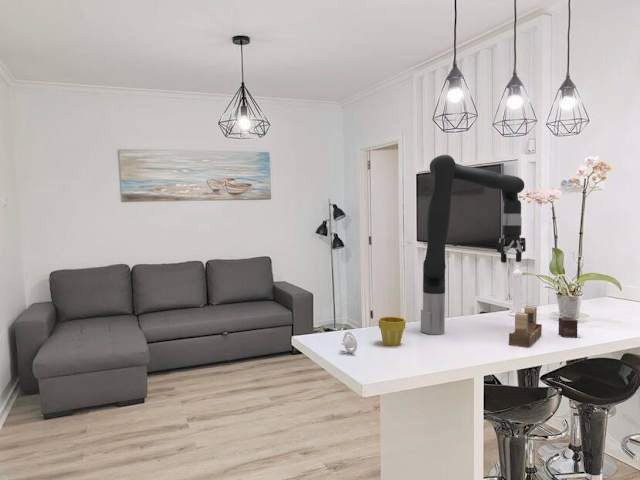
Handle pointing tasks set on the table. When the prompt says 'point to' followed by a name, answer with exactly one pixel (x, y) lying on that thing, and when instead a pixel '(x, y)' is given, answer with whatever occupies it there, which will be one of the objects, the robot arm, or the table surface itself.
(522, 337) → the rail
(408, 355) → the table surface
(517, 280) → the candle
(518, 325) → the block
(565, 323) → the box
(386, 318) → the plant pot
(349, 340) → the ring around a ball
